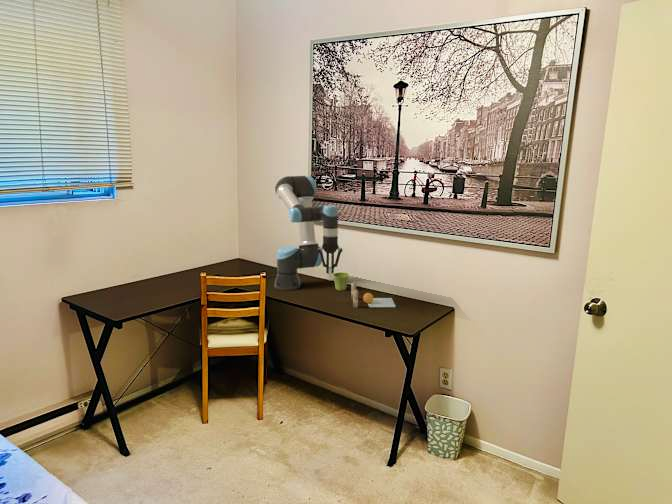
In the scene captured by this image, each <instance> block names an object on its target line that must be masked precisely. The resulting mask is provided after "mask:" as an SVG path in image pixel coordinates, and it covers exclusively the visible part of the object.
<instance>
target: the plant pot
mask: <svg viewBox="0 0 672 504" xmlns="http://www.w3.org/2000/svg"><path fill="white" fill-rule="evenodd" d="M332 276H333V280H334V285H335V286H334V287H335V290H337V291H346V290H347V287H348V280H349V276H350V274H349V273H348V272H334V273H333V274H332Z"/></svg>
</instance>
